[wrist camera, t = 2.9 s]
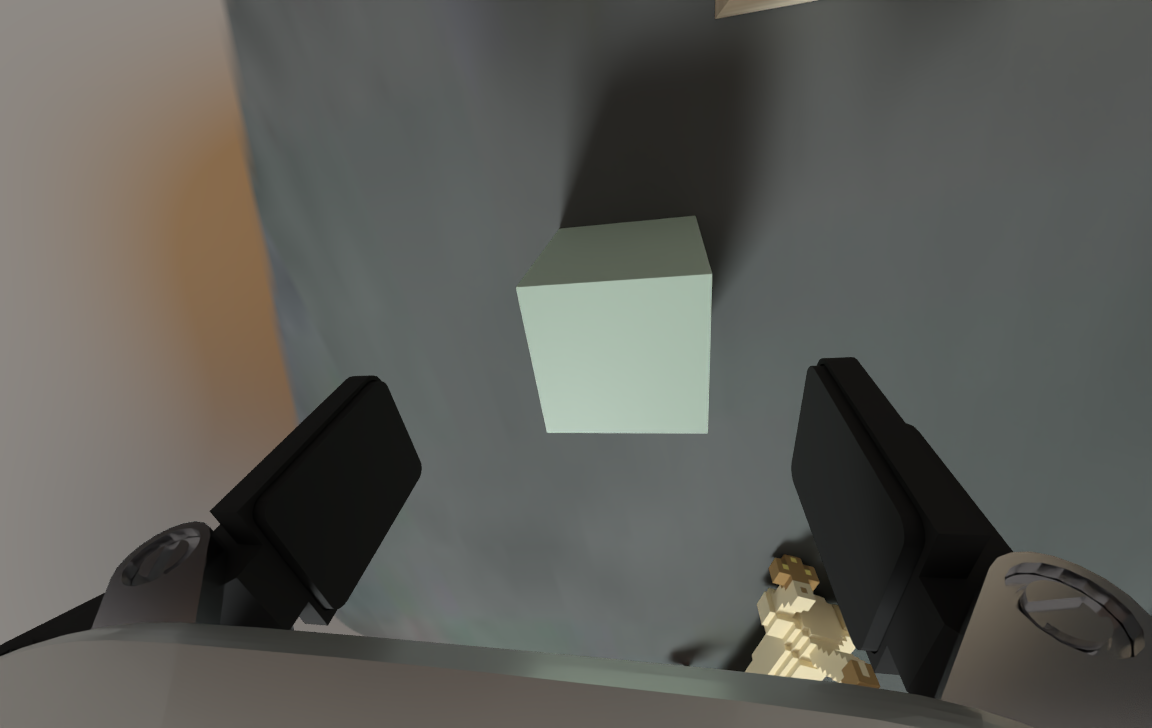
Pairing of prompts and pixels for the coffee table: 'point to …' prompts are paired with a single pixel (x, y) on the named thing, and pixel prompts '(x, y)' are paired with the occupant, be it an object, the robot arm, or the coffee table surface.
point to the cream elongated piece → (805, 631)
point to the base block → (749, 6)
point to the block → (621, 327)
